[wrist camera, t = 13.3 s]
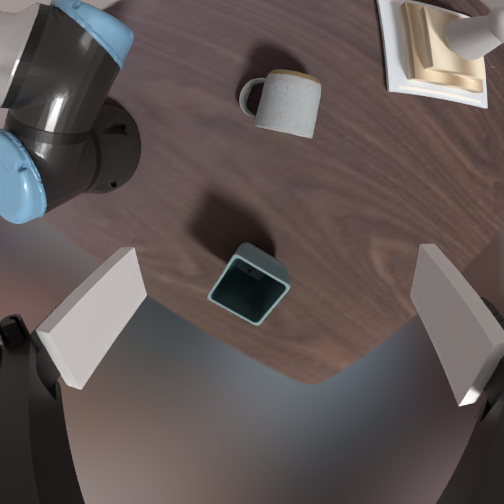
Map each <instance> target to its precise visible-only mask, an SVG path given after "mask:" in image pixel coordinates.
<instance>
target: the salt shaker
mask: <svg viewBox="0 0 504 504" xmlns="http://www.w3.org/2000/svg"><path fill="white" fill-rule="evenodd" d="M444 39H445V41H446V43H447V45H448V47H449V50H450V51H452V52H454V53H455V54H457V55H458V56H460V57H461V58H464V59H467V60H469V61H473V60H477V59H479V58H481V57H482V56H484V55H485V54H487V53H488V52H490V51H491V50H493V49H494V48H496V47H497V46H499V45H500V44H502V43H504V8H494V9H492V10H491V11H490V12H489V14H488V16H479V17H470V18H462V19H455V20H452V21H451V22H450V23H449V24H448V25H447V26H446V34H445V36H444Z"/></svg>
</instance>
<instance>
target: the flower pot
mask: <svg viewBox="0 0 504 504" xmlns="http://www.w3.org/2000/svg"><path fill="white" fill-rule="evenodd" d="M248 269H251V271H249V270H248ZM289 289H290V283H289V278H288V273H287V269H286V267H285V266H284V265H283V264H282V263H281V262H280V261H279V260H277V259H276V258H274V257H272V256H271V255H269V254H267V253H266V252H264V251H262V250H261V249H259V248H257V247H256V246H254V245H252V244H251V243H248V242H244V243H242V244H241V245H240V246H239V247H238V249H237V250H236V252H235V253H234V255H233V256H232V258H231V260H230V261H229V263H228V264H227V266H226V268H225V269H224V271H223V272H222V274H221V275H220V277H219V278H218V280H217V281H216V283H215V284H214V286H213V287H212V289H211V290H210V292H209V293H208V295H207V298H208V299H209V300H210V301H212V302H214V303H216V304H217V305H219V306H221V307H223V308H225V309H227V310H228V311H230V312H232V313H234V314H236V315H238V316H239V317H241V318H243V319H245V320H246V321H248V322H250V323H252V324H254V325H260V324H261V322H262V321H263V320H264V319H265V318H266V316H267V315H268V314H269V313H270V312H271V310H272V309H273V308H274V307H275V306H276V305H277V303H278V302H279V301H280V300H281V299H282V297H283V296H284V295H285V294H286V293H287V292H288V290H289Z"/></svg>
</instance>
